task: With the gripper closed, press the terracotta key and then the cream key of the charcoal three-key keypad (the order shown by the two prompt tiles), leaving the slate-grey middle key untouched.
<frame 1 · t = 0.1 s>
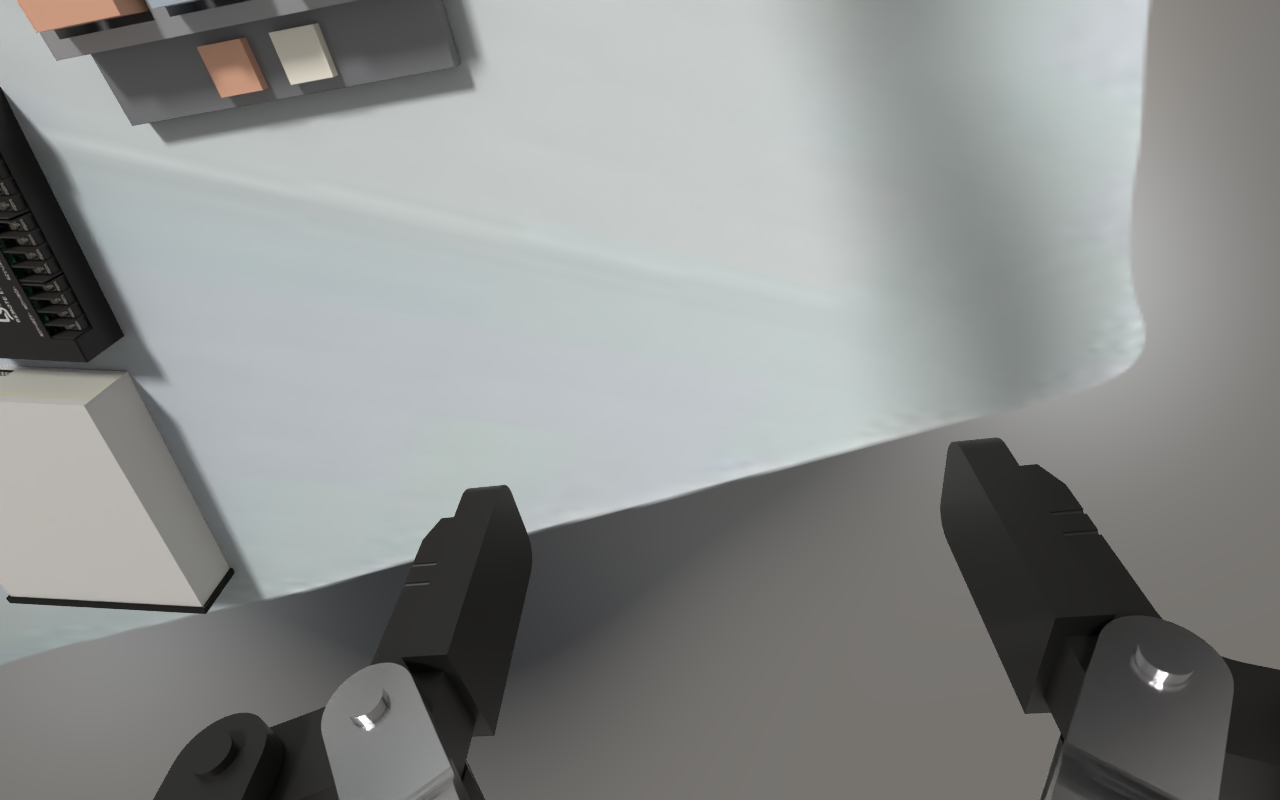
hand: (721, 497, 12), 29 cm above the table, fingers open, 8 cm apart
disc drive: (91, 474, 55), on the table
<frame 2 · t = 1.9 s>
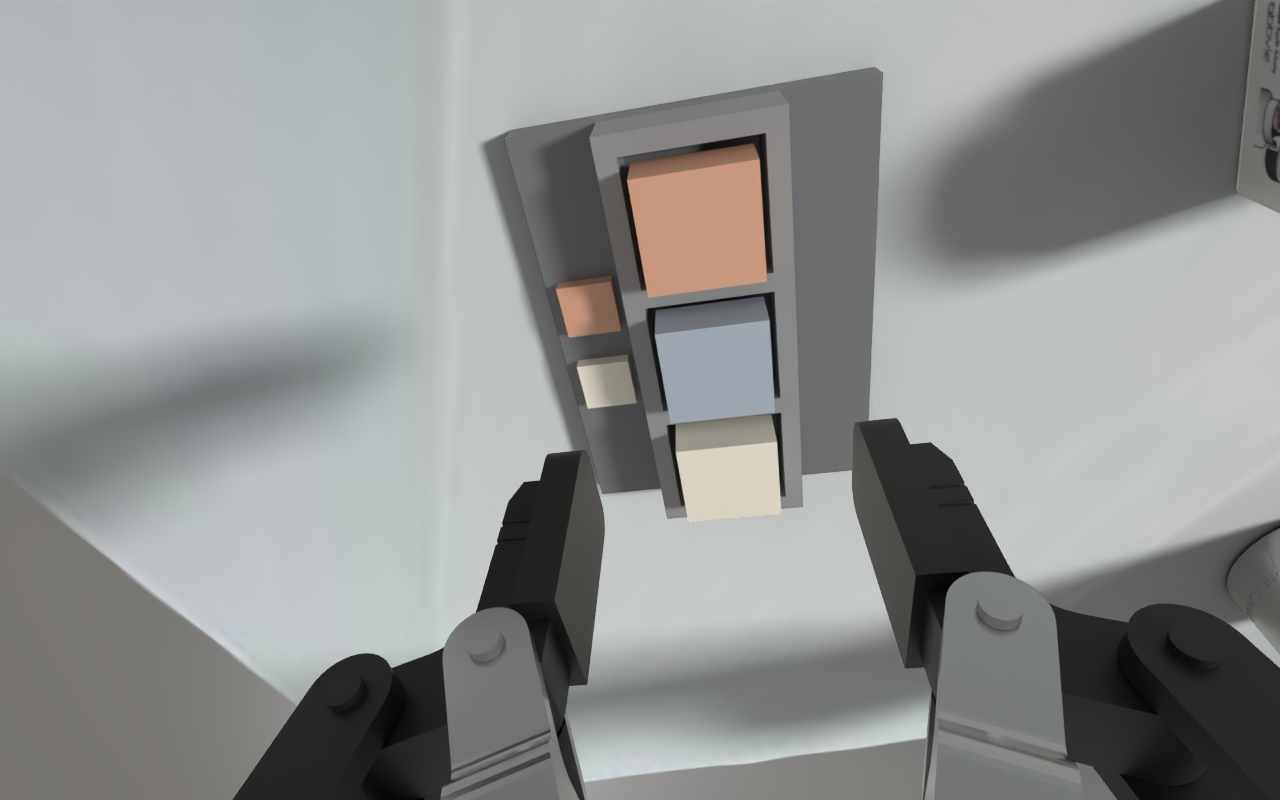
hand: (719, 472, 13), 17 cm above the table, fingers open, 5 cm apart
key cream: (728, 469, 30), point 4 cm above the table, slide at 0.0 cm
key terracotta: (699, 222, 24), point 4 cm above the table, slide at 0.0 cm
key slate: (715, 361, 27), point 4 cm above the table, slide at 0.0 cm
keypad: (711, 315, 30), on the table
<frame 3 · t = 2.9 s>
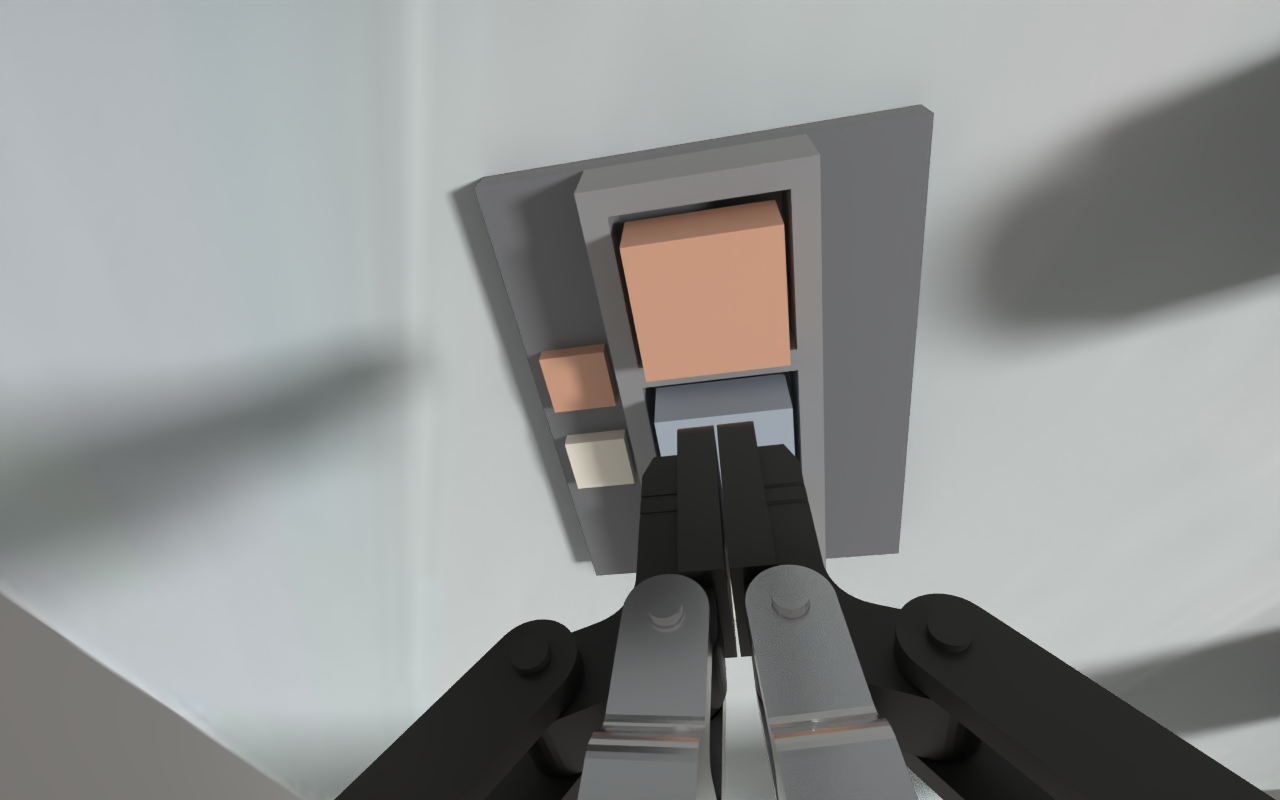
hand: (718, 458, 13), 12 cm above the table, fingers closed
key cream: (741, 562, 26), point 4 cm above the table, slide at 0.0 cm
key terracotta: (708, 294, 19), point 4 cm above the table, slide at 0.0 cm
key slate: (727, 448, 23), point 4 cm above the table, slide at 0.0 cm
keypad: (721, 384, 26), on the table
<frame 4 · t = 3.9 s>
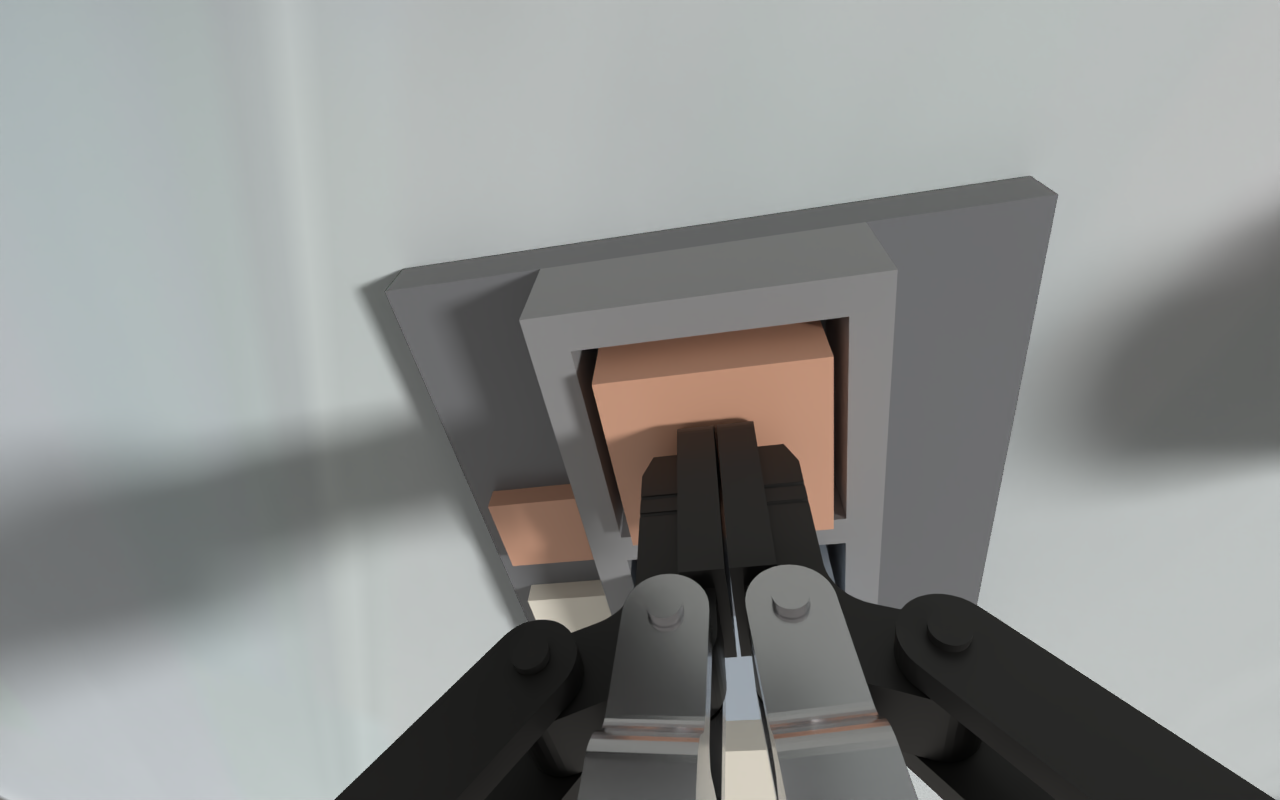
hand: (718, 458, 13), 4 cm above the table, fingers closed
key cream: (759, 753, 20), point 4 cm above the table, slide at 0.0 cm
key terracotta: (718, 431, 14), point 3 cm above the table, slide at 0.9 cm, touching gripper
key slate: (744, 635, 17), point 4 cm above the table, slide at 0.0 cm
keypad: (733, 520, 20), on the table
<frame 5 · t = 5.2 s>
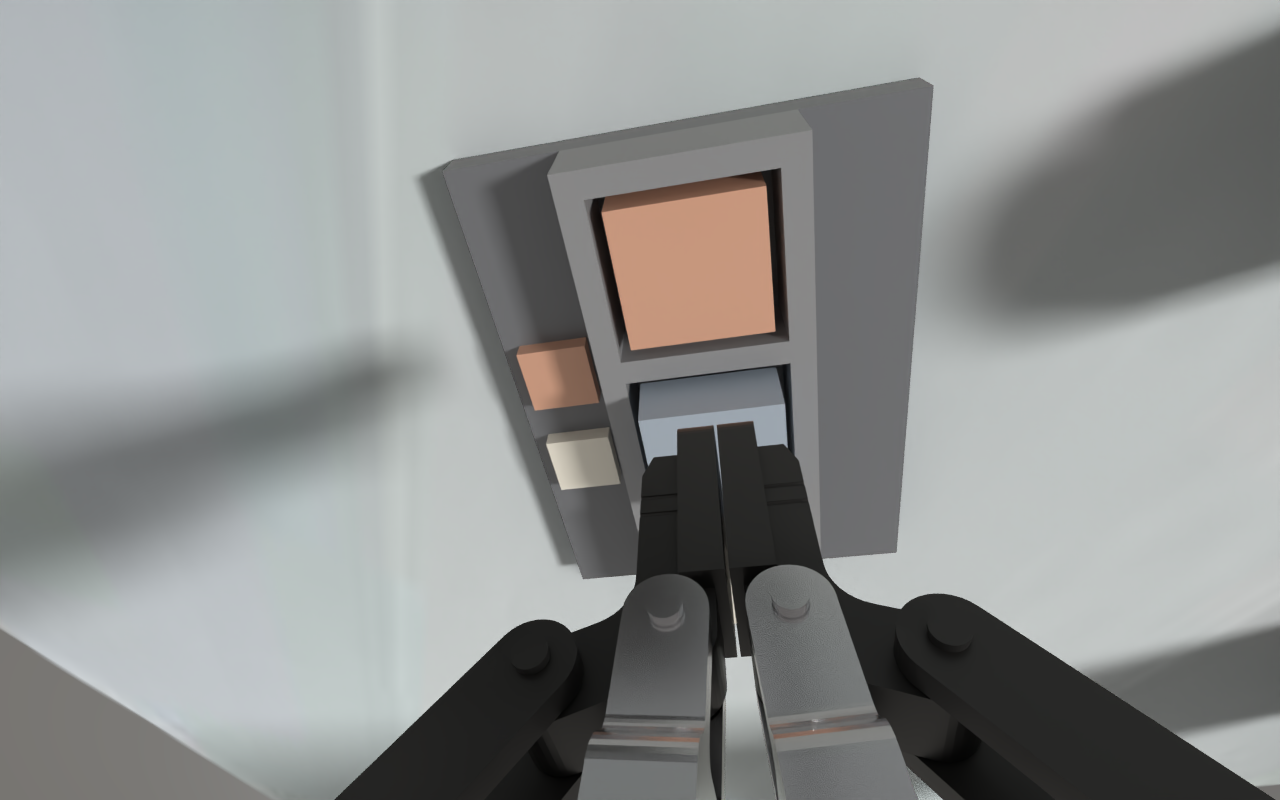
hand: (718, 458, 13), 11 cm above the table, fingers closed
key cream: (732, 565, 25), point 4 cm above the table, slide at 0.0 cm
key terracotta: (692, 260, 19), point 2 cm above the table, slide at 1.5 cm
key slate: (716, 446, 21), point 4 cm above the table, slide at 0.0 cm
keypad: (710, 379, 25), on the table
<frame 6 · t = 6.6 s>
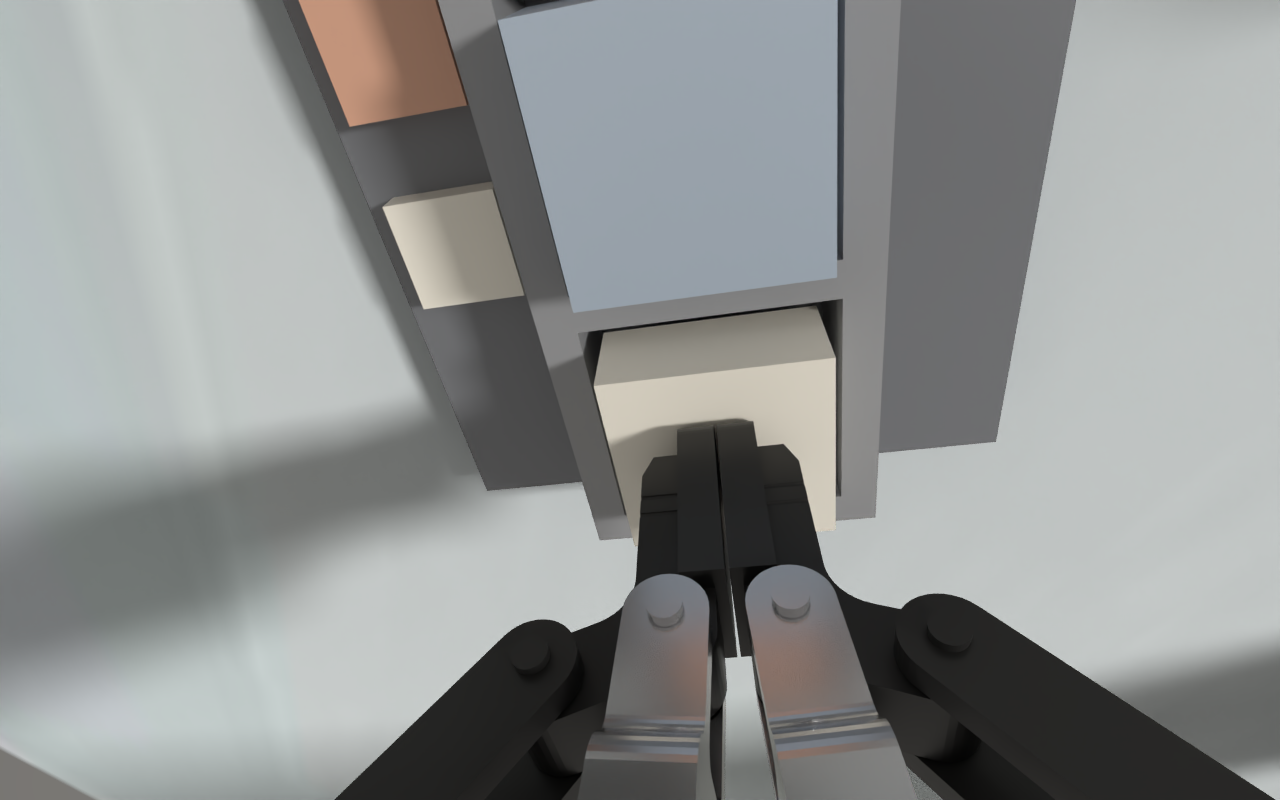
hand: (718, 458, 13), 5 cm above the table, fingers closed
key cream: (720, 432, 14), point 4 cm above the table, slide at 0.1 cm, touching gripper
key slate: (683, 144, 10), point 4 cm above the table, slide at 0.0 cm
keypad: (682, 94, 14), on the table
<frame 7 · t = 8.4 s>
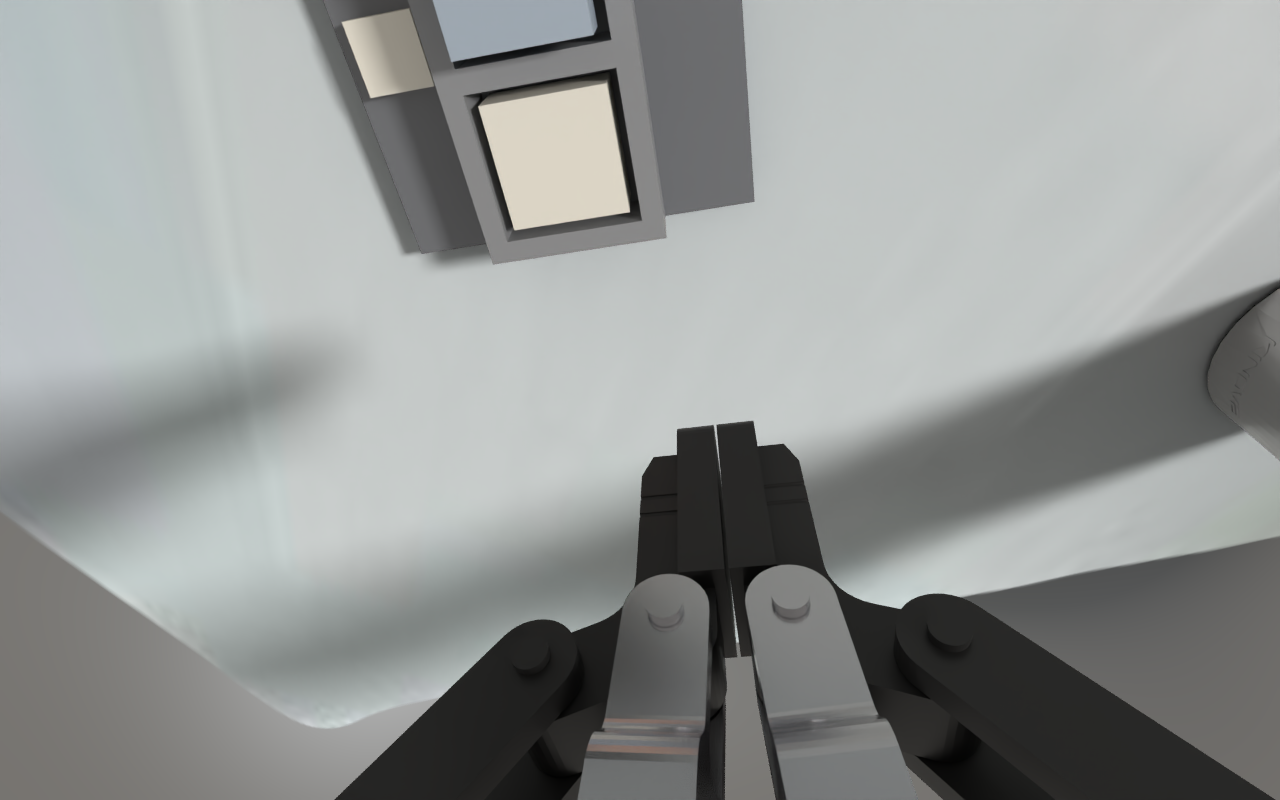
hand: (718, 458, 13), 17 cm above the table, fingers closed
key cream: (560, 153, 24), point 2 cm above the table, slide at 1.5 cm
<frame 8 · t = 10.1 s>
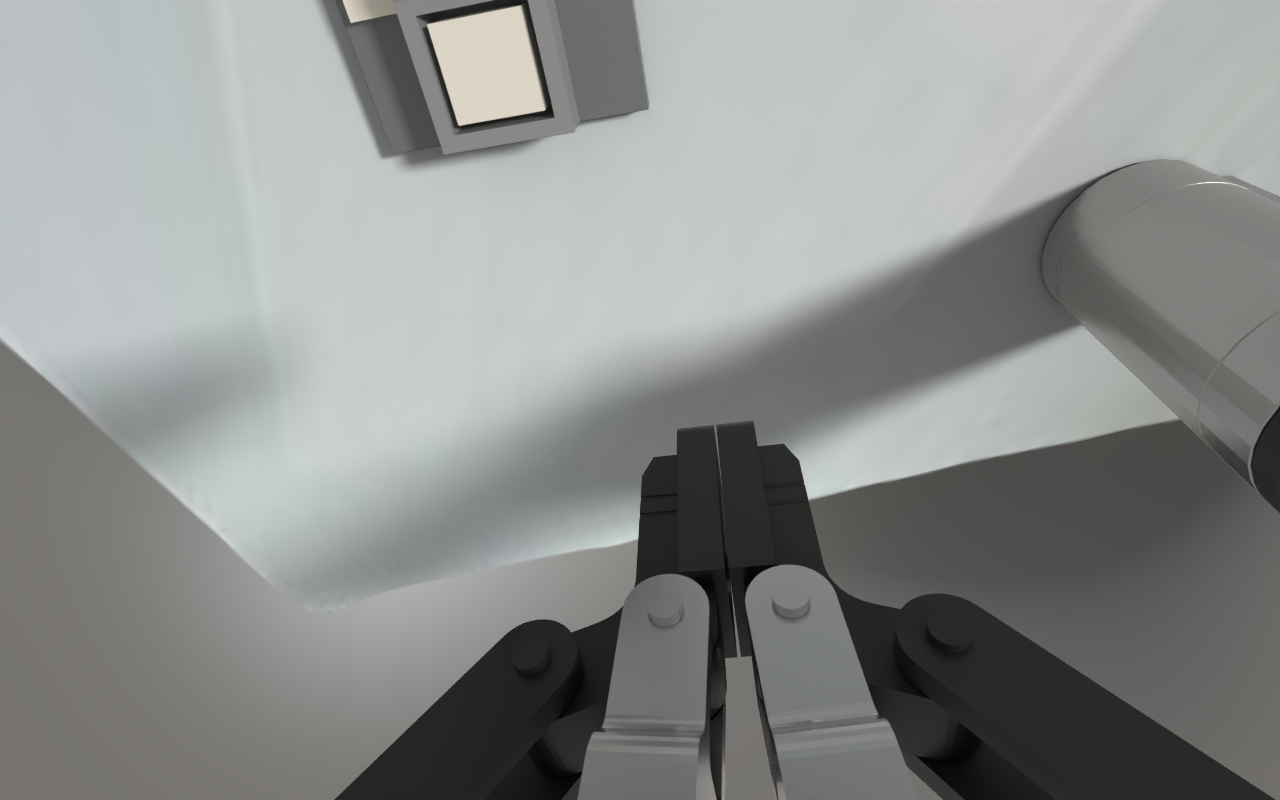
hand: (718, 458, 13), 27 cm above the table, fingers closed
key cream: (492, 65, 31), point 2 cm above the table, slide at 1.5 cm
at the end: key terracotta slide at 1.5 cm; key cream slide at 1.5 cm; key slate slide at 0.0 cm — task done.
